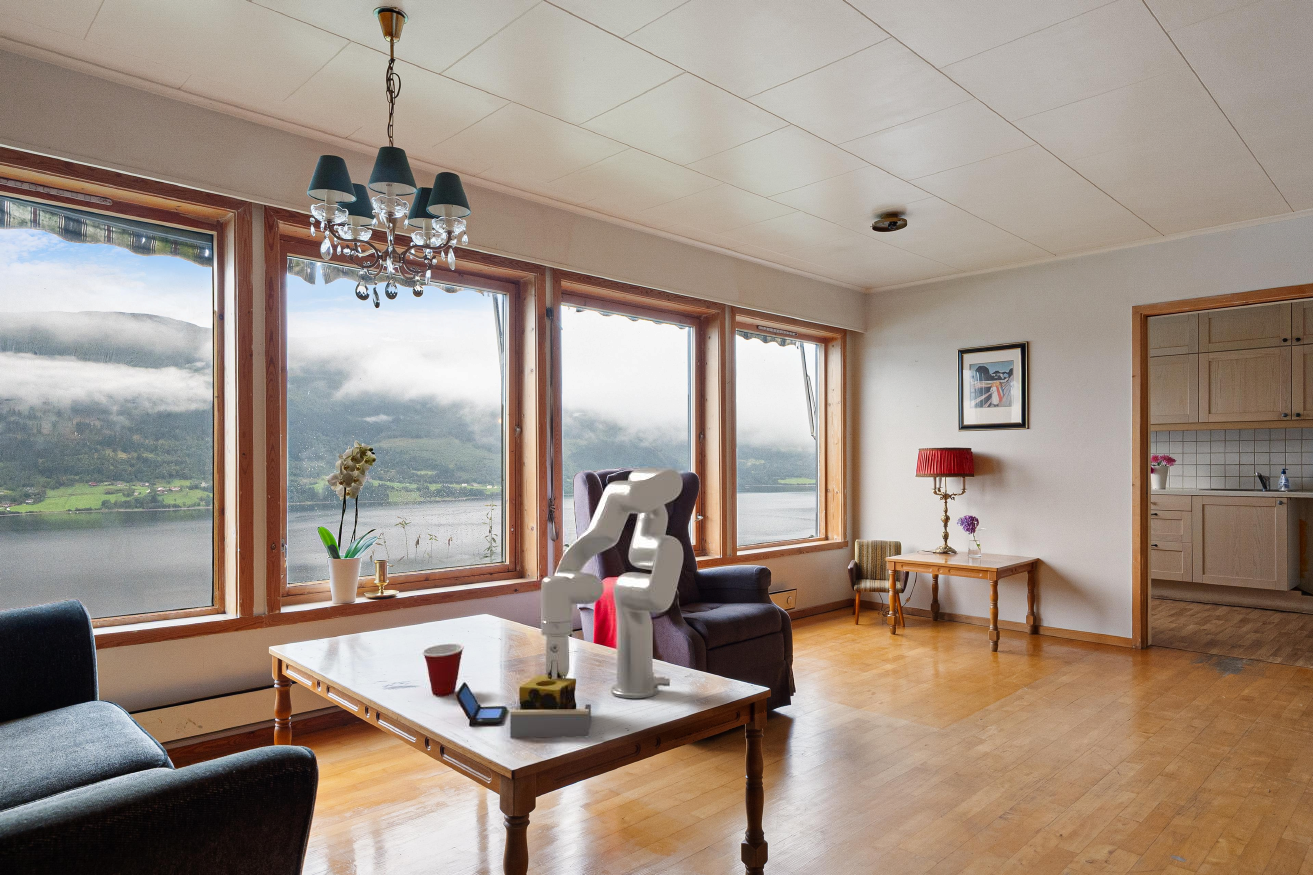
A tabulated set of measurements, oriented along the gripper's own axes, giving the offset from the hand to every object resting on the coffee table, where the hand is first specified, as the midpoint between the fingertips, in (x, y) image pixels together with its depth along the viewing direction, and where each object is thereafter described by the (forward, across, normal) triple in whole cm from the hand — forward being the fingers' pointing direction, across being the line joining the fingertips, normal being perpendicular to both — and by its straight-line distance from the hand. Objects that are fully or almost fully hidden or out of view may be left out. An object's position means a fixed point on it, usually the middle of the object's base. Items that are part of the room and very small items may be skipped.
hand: (556, 703), depth 185 cm
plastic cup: (+3, +19, +32) cm, 38 cm away
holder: (+3, -11, 0) cm, 11 cm away
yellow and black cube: (+3, -8, +1) cm, 9 cm away
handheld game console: (+3, -2, +18) cm, 18 cm away
